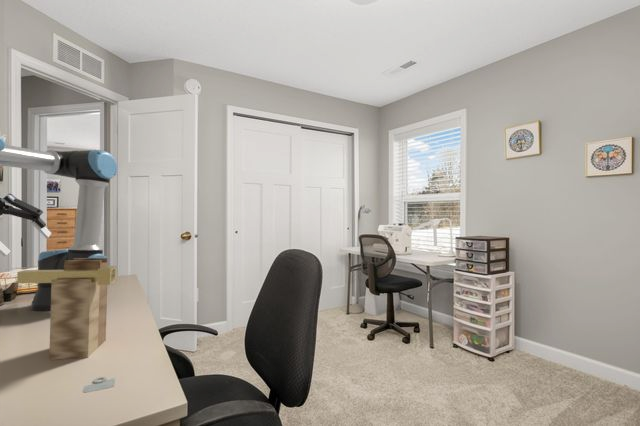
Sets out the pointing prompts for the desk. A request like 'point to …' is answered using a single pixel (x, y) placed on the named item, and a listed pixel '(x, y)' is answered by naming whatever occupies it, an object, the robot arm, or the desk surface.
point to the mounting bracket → (99, 384)
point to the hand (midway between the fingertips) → (28, 244)
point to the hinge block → (77, 312)
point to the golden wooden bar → (69, 275)
